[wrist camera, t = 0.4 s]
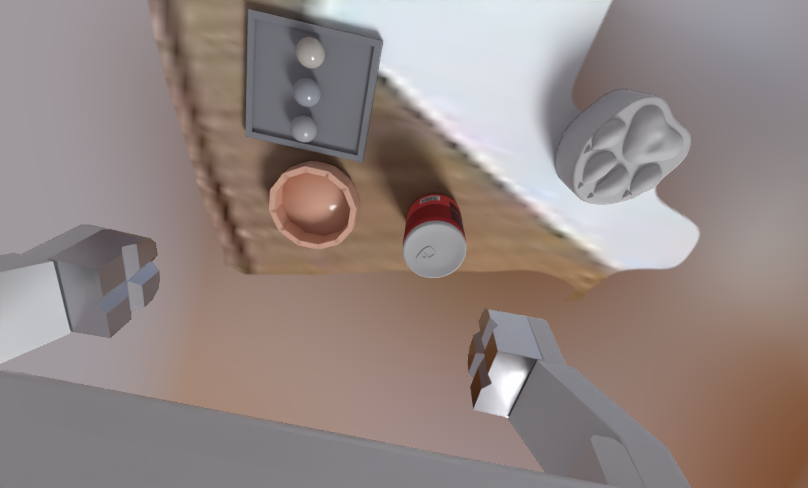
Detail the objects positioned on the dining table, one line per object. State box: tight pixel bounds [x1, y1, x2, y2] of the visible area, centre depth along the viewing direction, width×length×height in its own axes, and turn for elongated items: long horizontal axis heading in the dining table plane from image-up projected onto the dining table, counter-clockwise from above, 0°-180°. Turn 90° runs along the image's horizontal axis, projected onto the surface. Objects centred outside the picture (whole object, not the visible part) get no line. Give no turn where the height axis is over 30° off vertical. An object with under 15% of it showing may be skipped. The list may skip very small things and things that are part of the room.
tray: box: [245, 9, 383, 162], centre depth 49 cm, size 15×16×1 cm
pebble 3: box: [290, 115, 317, 142], centre depth 50 cm, size 3×3×3 cm
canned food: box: [403, 194, 466, 278], centre depth 52 cm, size 8×8×11 cm
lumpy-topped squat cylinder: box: [555, 89, 691, 205], centre depth 47 cm, size 10×13×9 cm
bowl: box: [269, 161, 360, 249], centre depth 55 cm, size 12×12×4 cm
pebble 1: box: [296, 37, 325, 69], centre depth 46 cm, size 3×3×3 cm
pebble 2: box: [293, 78, 321, 107], centre depth 48 cm, size 3×3×3 cm
